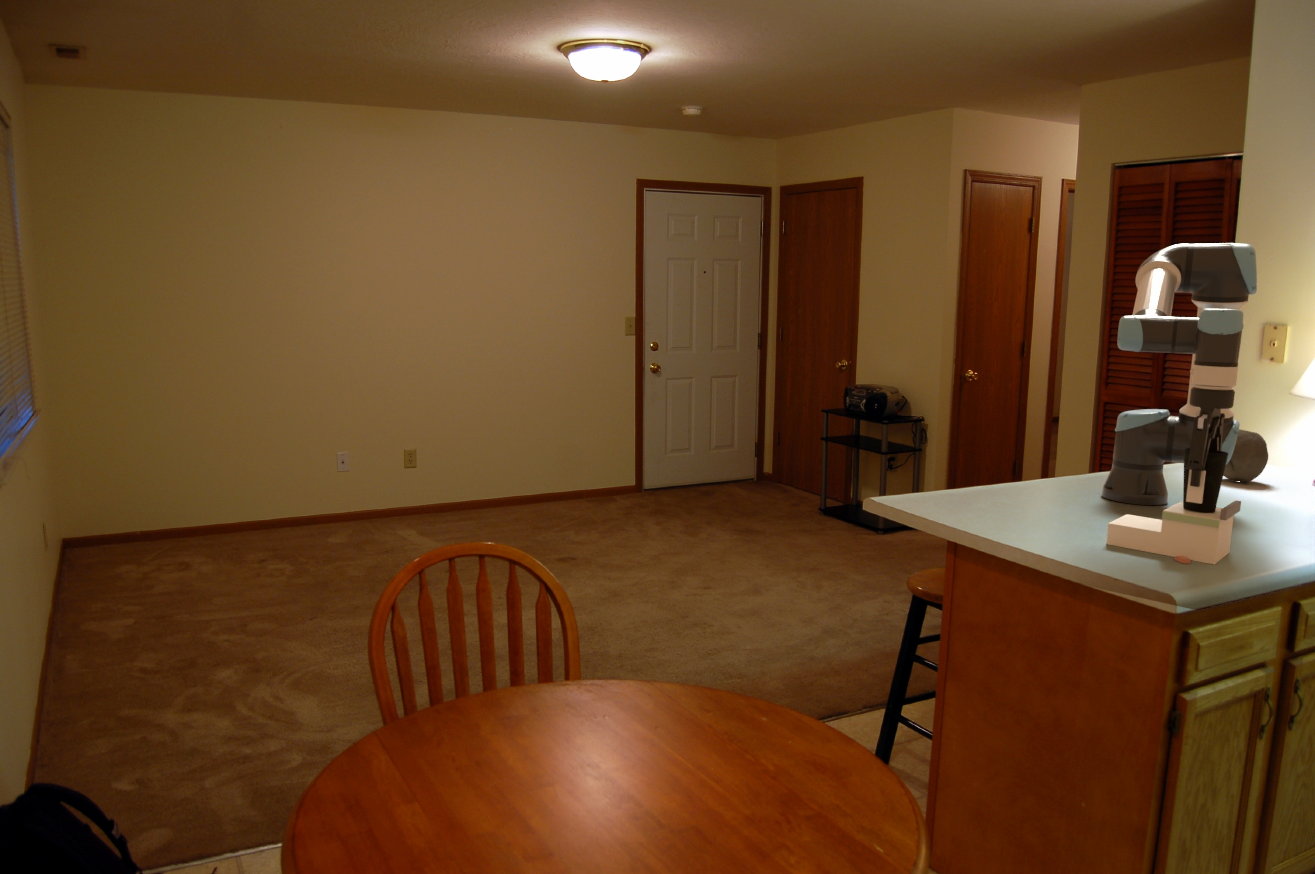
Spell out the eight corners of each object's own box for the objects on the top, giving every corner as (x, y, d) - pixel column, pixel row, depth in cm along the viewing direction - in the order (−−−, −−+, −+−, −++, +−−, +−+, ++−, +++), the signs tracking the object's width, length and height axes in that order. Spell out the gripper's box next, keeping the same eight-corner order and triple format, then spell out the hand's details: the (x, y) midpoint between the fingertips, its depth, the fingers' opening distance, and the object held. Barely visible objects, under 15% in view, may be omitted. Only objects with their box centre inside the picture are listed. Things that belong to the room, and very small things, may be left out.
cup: (1227, 514, 183) (1234, 454, 181) (1185, 511, 184) (1192, 451, 183) (1212, 507, 190) (1219, 449, 189) (1171, 504, 191) (1178, 447, 190)
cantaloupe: (1277, 486, 259) (1284, 434, 257) (1226, 485, 260) (1233, 432, 257) (1246, 477, 273) (1252, 426, 271) (1198, 475, 273) (1204, 425, 271)
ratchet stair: (1125, 533, 203) (1130, 484, 201) (1235, 553, 189) (1241, 500, 187) (1100, 547, 191) (1105, 495, 190) (1215, 569, 177) (1222, 513, 175)
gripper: (1205, 382, 193) (1193, 488, 197) (1176, 389, 178) (1164, 503, 181) (1247, 385, 188) (1234, 494, 192) (1221, 392, 173) (1207, 510, 176)
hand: (1200, 498), depth 187 cm, fingers open, 9 cm apart
